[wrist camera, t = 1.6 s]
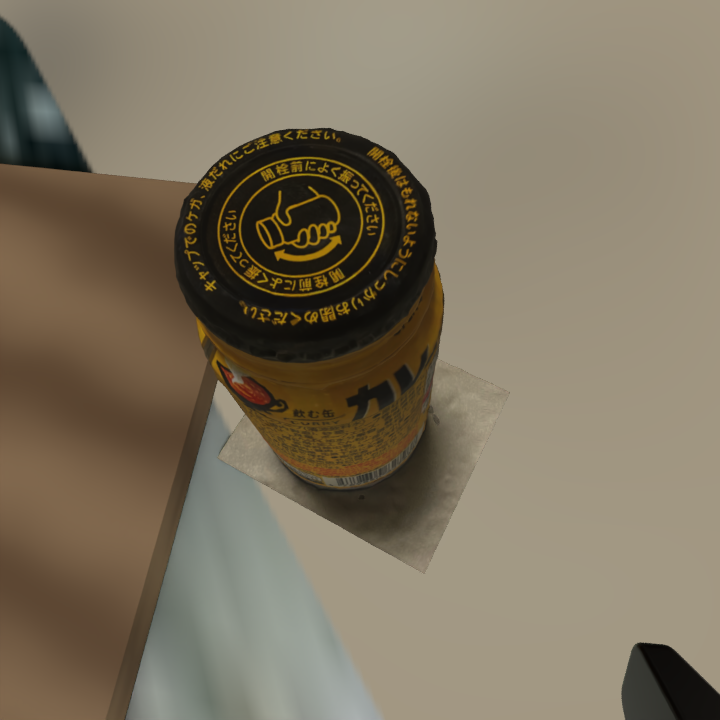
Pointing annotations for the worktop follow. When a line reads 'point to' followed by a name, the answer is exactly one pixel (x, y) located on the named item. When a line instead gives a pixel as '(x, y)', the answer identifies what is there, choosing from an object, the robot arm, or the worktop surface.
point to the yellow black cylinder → (333, 334)
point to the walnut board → (89, 432)
